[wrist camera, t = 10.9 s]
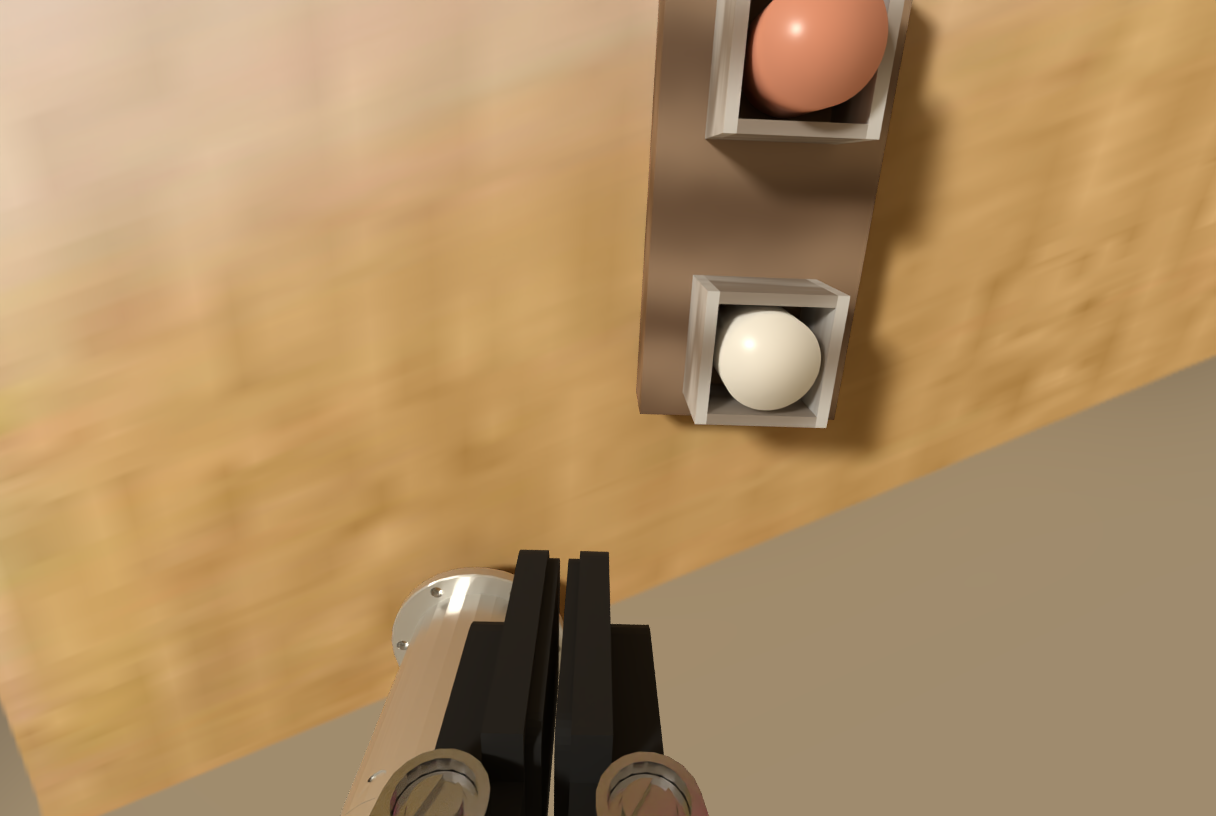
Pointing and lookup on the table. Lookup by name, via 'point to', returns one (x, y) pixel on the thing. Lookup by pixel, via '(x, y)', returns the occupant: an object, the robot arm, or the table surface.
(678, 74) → the button box
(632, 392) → the table surface
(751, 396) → the plunger white
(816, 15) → the plunger salmon pink
